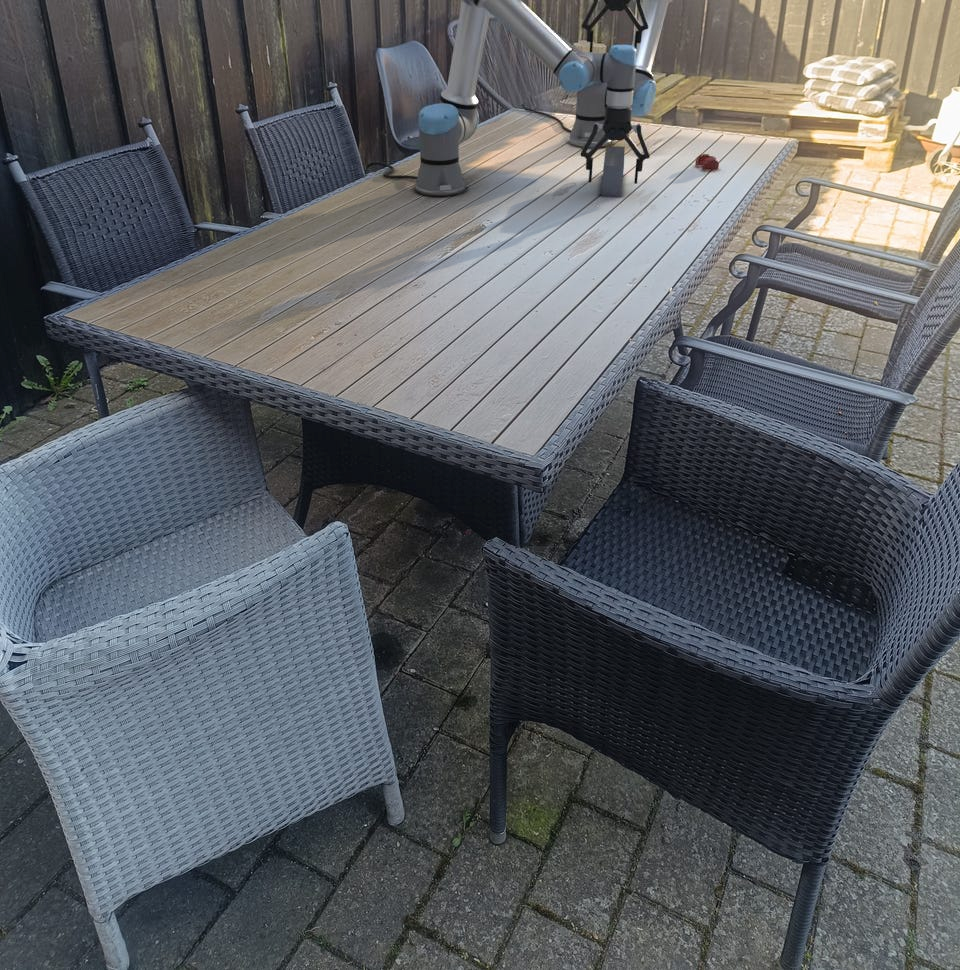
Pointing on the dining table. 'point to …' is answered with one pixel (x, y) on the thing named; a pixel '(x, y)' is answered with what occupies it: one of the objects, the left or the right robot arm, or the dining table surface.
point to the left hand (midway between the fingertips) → (612, 181)
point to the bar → (613, 171)
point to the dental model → (707, 162)
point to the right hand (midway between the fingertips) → (612, 54)
